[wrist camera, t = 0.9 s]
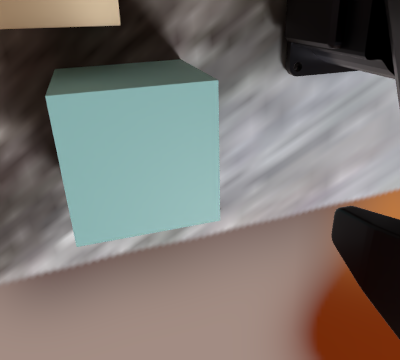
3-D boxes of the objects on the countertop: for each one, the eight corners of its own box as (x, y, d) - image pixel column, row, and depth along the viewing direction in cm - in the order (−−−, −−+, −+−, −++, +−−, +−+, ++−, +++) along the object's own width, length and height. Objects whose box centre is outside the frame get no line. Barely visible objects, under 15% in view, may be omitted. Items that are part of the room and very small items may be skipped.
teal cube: (180, 59, 19) (218, 80, 14) (186, 168, 22) (220, 220, 17) (54, 68, 18) (45, 96, 13) (77, 184, 20) (76, 246, 15)
